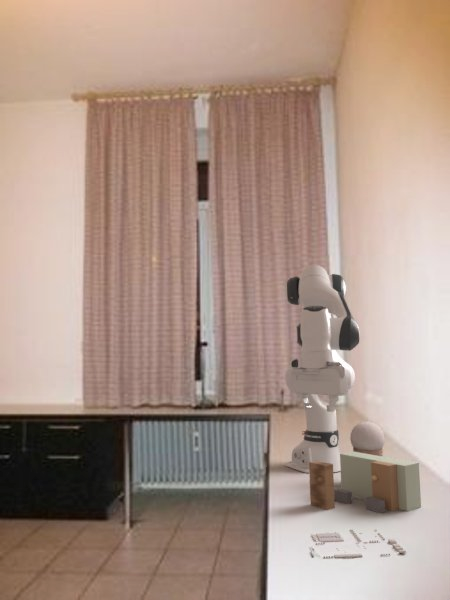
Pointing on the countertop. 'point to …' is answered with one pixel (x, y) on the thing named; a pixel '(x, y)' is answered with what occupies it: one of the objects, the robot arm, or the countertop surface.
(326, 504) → the wooden block with peg
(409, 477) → the cabinet
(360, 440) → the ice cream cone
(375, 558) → the countertop surface
